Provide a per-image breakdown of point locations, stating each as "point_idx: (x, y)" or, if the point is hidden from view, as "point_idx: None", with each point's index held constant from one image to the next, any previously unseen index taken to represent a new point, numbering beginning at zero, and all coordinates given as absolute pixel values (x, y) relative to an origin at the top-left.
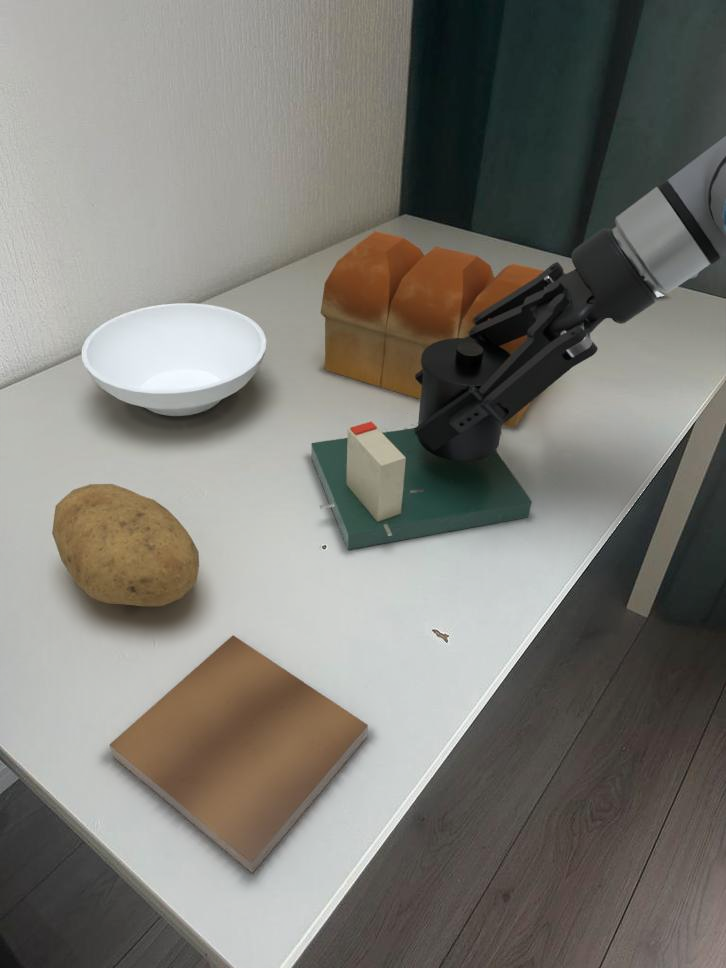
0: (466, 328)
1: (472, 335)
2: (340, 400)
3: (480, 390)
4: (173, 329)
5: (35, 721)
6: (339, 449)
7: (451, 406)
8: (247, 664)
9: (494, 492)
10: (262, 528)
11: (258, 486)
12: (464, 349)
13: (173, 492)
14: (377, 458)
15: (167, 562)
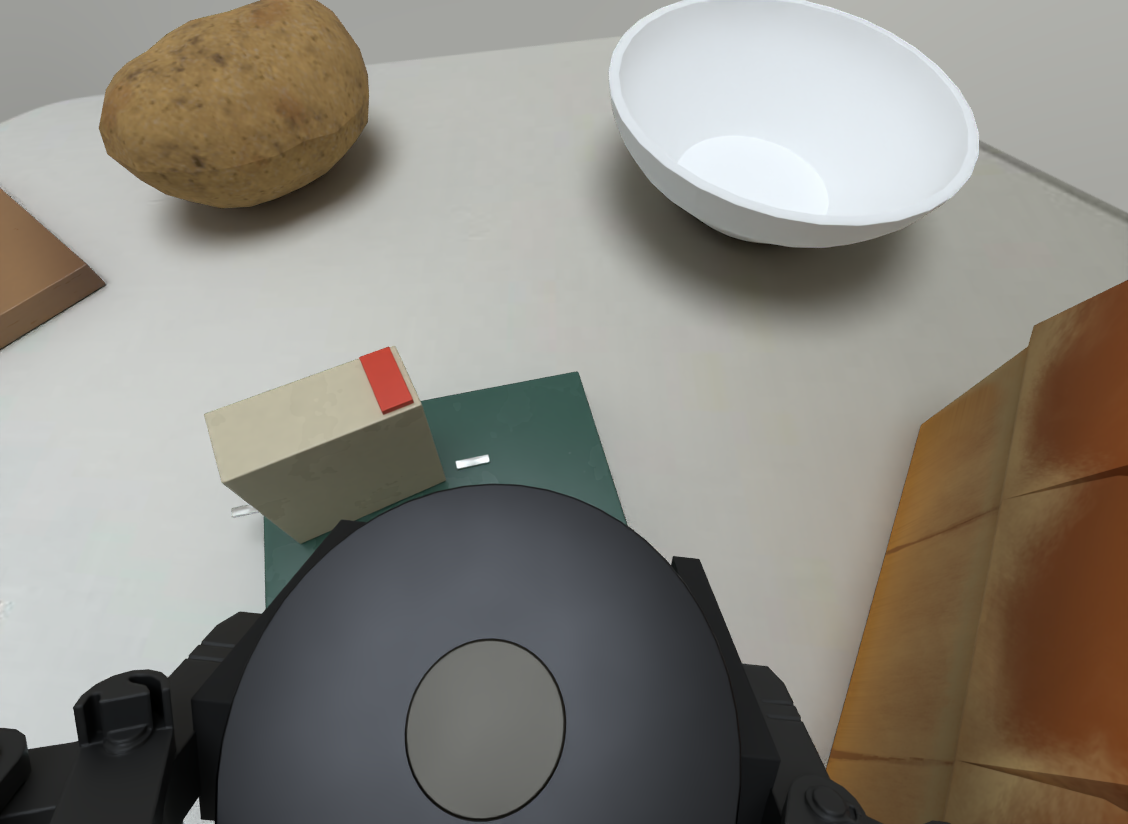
0: (1060, 820)
1: (786, 797)
2: (800, 455)
3: (115, 737)
4: (897, 121)
5: (80, 114)
6: (553, 423)
7: (266, 615)
8: (15, 282)
9: None
10: (371, 315)
11: (489, 307)
12: (482, 684)
13: (480, 200)
14: (239, 406)
15: (107, 105)
